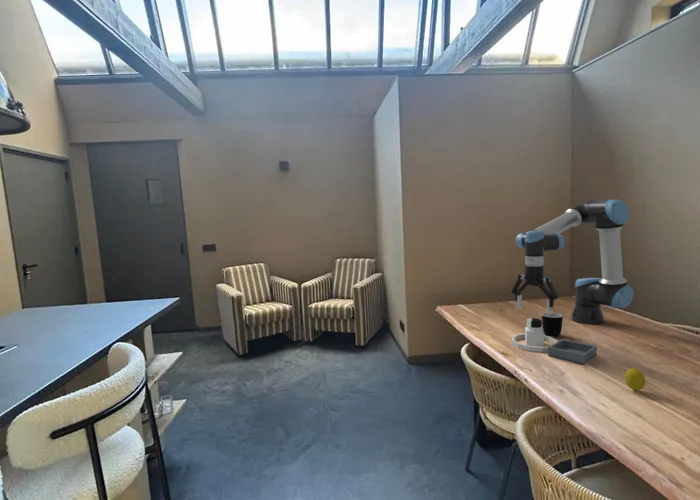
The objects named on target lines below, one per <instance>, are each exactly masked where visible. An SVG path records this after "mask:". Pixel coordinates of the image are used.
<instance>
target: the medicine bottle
mask: <svg viewBox="0 0 700 500" xmlns="http://www.w3.org/2000/svg"><path fill="white" fill-rule="evenodd" d="M524 334H525V338H524V340H525V345H528V346H537V347H545V340H544V335H545V334H544V331H543V326H542V319H540V318H537V317H530V318H527V319H526V326H525V327H524Z"/></svg>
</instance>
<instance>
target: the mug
mask: <svg viewBox="0 0 700 500" xmlns="http://www.w3.org/2000/svg"><path fill="white" fill-rule="evenodd" d="M541 321H542V329H543V332H544V335H545V336H550V337H552V338H558V337H560V335H561V332H562V328H563V315H562V313H561V314H560V313H556V312H551V314H549V315H547V312H543V313H541Z"/></svg>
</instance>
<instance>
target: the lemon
mask: <svg viewBox="0 0 700 500" xmlns="http://www.w3.org/2000/svg"><path fill="white" fill-rule="evenodd" d="M624 381H625V384H626V385H627V387H628V388H630V389H631V390H633V391H634V392H637V391H640V390H642V389H643V388H644V387H645V385H646V377H645V374H644V373H643V372H642V370H640V369H639V368H637V367H634V368H629V369H628V370H627V371H626V372H625V375H624Z"/></svg>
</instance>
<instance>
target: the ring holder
mask: <svg viewBox="0 0 700 500" xmlns="http://www.w3.org/2000/svg"><path fill="white" fill-rule="evenodd" d="M521 339H522V340H523V339H525V333H517V334H514V335H512V336H511V345H512V346H513V347H516V349H517V348H518V349H519V350H524V351H528V352H534V353H535V352H536V353H547V352H548V353H549V347H550V346H551V345H546V346H545V345H544V347H537V346H528V345H526V344H524V343H520V342H518V340H521ZM544 341H547V342H549V343H552V345H553V344H555V343H557V342H558V339H556V338H555V337H550V336H546V335H545V334H544Z"/></svg>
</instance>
